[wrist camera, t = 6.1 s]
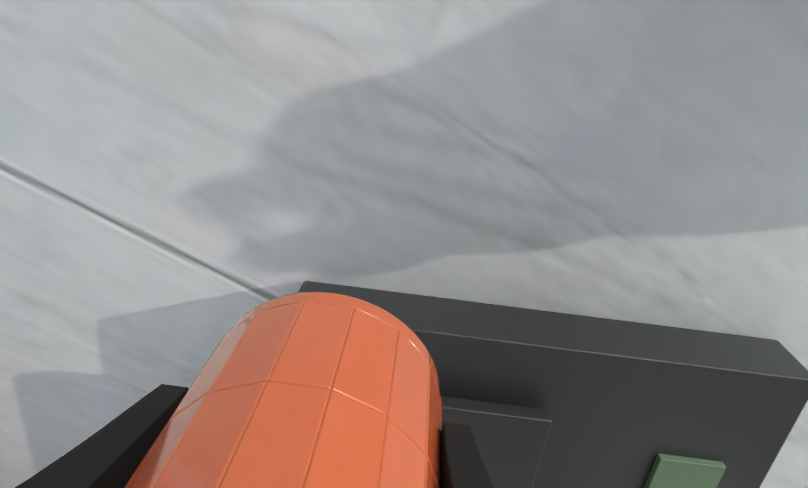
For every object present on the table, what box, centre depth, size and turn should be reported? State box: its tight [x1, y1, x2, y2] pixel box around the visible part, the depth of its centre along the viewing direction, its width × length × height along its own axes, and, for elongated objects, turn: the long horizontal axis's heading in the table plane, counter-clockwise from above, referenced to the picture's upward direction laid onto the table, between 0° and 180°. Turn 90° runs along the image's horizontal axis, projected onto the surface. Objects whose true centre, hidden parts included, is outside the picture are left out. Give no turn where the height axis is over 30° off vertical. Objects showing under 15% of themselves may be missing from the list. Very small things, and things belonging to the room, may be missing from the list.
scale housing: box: [299, 281, 808, 488], centre depth 22 cm, size 18×14×3 cm
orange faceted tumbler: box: [125, 292, 442, 488], centre depth 11 cm, size 6×6×6 cm
